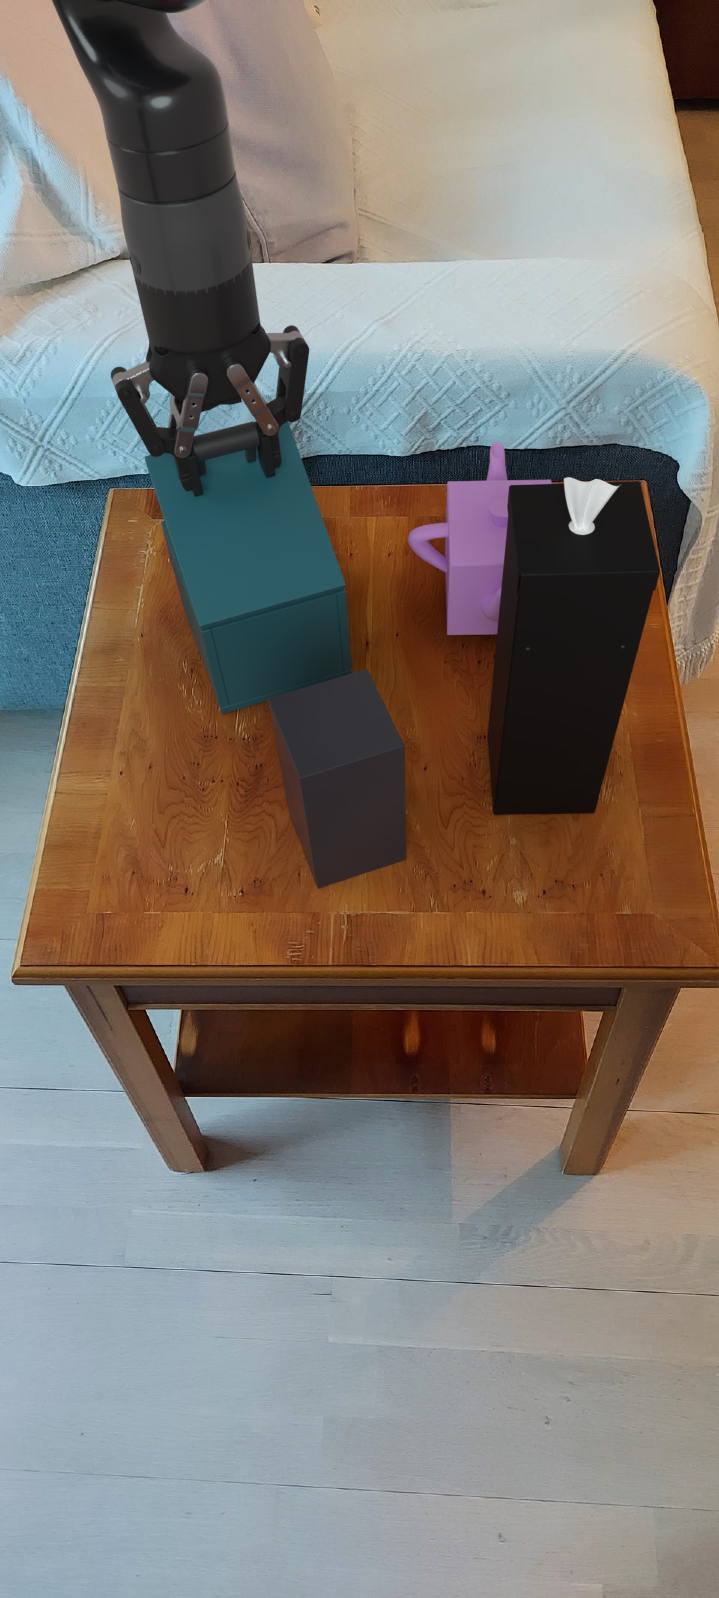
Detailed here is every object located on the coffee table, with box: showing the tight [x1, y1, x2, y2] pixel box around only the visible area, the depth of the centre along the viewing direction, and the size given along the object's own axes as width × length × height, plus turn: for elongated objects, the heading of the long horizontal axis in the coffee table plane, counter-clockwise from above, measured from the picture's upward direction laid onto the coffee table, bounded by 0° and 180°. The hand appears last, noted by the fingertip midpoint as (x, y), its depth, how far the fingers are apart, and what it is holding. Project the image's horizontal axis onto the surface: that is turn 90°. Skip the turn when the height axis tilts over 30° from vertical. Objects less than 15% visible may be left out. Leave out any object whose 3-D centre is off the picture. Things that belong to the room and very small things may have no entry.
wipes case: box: [160, 520, 353, 715], centre depth 84 cm, size 14×12×10 cm
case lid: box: [143, 421, 347, 629], centre depth 75 cm, size 14×12×5 cm
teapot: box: [407, 441, 553, 636], centre depth 85 cm, size 15×13×11 cm
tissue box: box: [486, 476, 661, 816], centre depth 67 cm, size 8×8×28 cm
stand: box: [267, 668, 407, 890], centre depth 70 cm, size 7×7×14 cm
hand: (231, 479), depth 76 cm, fingers closed on case lid, 5 cm apart
